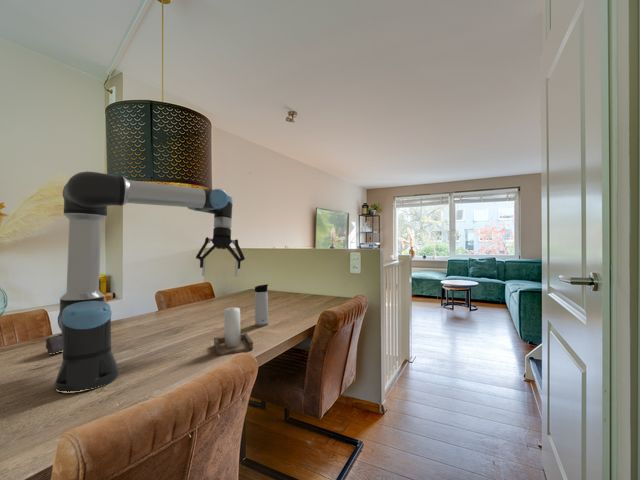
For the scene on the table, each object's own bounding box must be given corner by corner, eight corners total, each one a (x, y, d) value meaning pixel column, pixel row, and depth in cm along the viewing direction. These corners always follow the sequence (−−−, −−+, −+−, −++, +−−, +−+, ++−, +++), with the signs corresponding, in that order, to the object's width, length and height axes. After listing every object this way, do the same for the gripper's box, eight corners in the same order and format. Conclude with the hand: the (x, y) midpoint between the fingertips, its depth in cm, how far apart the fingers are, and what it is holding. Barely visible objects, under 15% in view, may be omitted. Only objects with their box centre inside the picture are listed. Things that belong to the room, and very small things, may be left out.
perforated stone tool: (76, 343, 125) (76, 327, 125) (88, 343, 125) (87, 327, 125) (39, 357, 110) (39, 339, 110) (52, 358, 110) (51, 339, 110)
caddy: (217, 355, 109) (217, 347, 109) (214, 345, 120) (213, 338, 120) (252, 349, 115) (252, 342, 115) (246, 340, 125) (246, 333, 125)
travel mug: (265, 326, 145) (265, 285, 145) (253, 326, 146) (252, 285, 146) (270, 323, 151) (269, 283, 151) (258, 322, 152) (257, 283, 152)
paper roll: (225, 348, 113) (225, 311, 113) (223, 343, 119) (223, 308, 119) (242, 346, 116) (241, 309, 116) (239, 341, 121) (238, 306, 121)
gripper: (248, 232, 142) (247, 277, 138) (191, 227, 132) (188, 276, 128) (252, 228, 135) (250, 275, 131) (192, 223, 125) (188, 274, 121)
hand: (220, 276), depth 129 cm, fingers open, 13 cm apart
